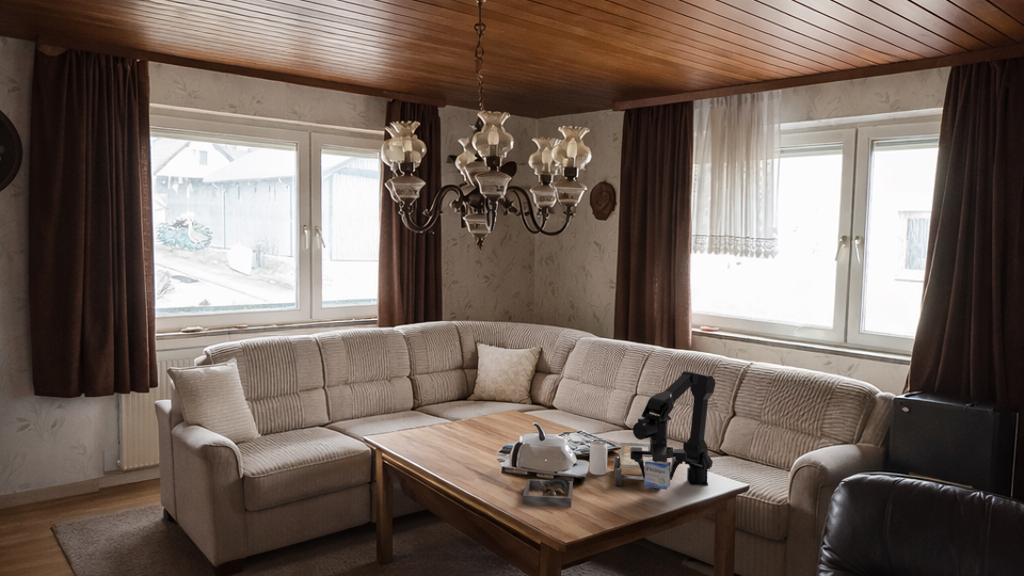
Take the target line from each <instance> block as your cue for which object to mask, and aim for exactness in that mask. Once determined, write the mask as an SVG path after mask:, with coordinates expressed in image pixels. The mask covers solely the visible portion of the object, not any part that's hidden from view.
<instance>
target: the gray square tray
mask: <svg viewBox="0 0 1024 576" xmlns="http://www.w3.org/2000/svg"><path fill="white" fill-rule="evenodd" d="M550 480H551V479H529V478H527V479H526V483H525V487H524V490H523V495H522V505H526V506H527V505H529V506H546V507H560V508H561V507H562V508H572V499H573V487H574V484H573V483H574V481H572V480H567V481H568V482H569V484H570V485H569V486H568V488H561V490H562V491H568V495H567V496H557V495H556V496H554V495H544V496H543V495H539V494H536V495H535V494H529V492H530V489H531V490H534V489H535V490H541V489H542V490H543V488H542V486H540V485H541V483H540V481H545V482H546V483H547V484H548V482H549V481H550Z"/></svg>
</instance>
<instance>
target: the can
mask: <svg viewBox="0 0 1024 576" xmlns="http://www.w3.org/2000/svg"><path fill="white" fill-rule="evenodd" d="M607 472H608V444H607V441H606V440H604V439H592V440H591V443H590V445H589V473H590V474H591V475H593V476H599V477H600V476H604V475H606V474H607Z"/></svg>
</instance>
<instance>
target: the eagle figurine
mask: <svg viewBox="0 0 1024 576" xmlns="http://www.w3.org/2000/svg"><path fill="white" fill-rule="evenodd" d="M549 480H550V481H549V482H548V484H547V483H546V482H545V481H540V483H541V485H540V486H542V488H543V489H540V491H541V492H542V496H546V495H547V493H549V492H550V493H551V494H552V496H557V493H556V492H559V493H561V494H564V495H566V496H567V492H565V491H564V490H561V488H568V486H569V485H570V484H569V482H568V481H569V480H567V479H565V478H563V477H556V478H551V479H549Z"/></svg>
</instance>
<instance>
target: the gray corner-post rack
mask: <svg viewBox="0 0 1024 576" xmlns="http://www.w3.org/2000/svg"><path fill="white" fill-rule="evenodd" d="M619 446H620V452H619V455H614V456H613V472H614V486H619V487H620V486H622V480H637V481H638V480H642V481H645V479H644V478H643V475H623V474H622V469H623V470H636V471H639V470H641V468H640V466H639V464H638V462H635V460H632V459H631V458H630V452H625V447H641V448H642V447H643V448H647V451H650V442H638V441H637V442H636V441H619ZM648 459H652V457H645V456H643V461H644V471H645V462H646V461H647V460H648Z"/></svg>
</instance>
